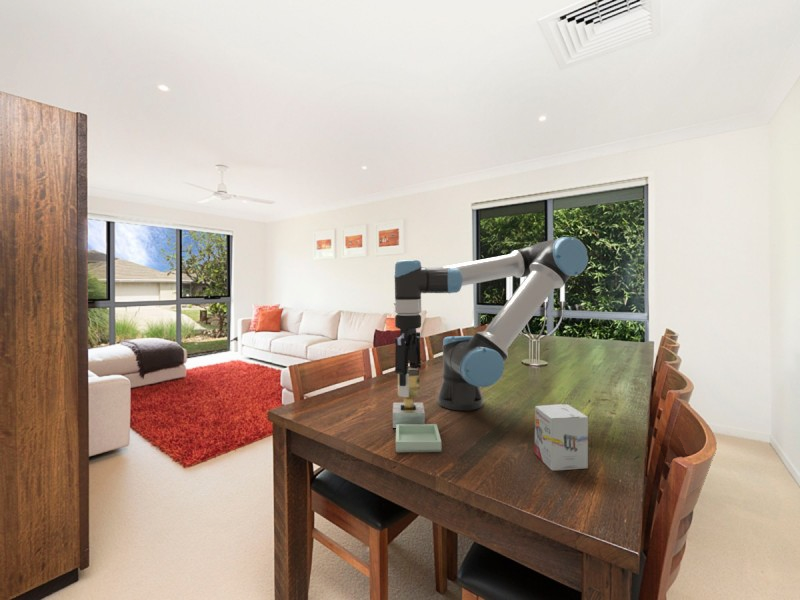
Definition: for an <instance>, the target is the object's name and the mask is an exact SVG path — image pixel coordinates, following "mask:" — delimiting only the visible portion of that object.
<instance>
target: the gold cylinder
mask: <svg viewBox="0 0 800 600" xmlns="http://www.w3.org/2000/svg"><path fill="white" fill-rule="evenodd" d="M407 374H409V397H402V398H403V403H404V410H414V403H415V398H418V397H420V396H421V395H420V394H421V391H420V390H421V389H420V388H421V385H420V383H421V381H420V380H421V379H420V377H421V375H420V370H419V369H418V370H408V371H407ZM397 396H398V397H400V396H399V374H397Z"/></svg>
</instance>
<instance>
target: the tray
mask: <svg viewBox="0 0 800 600" xmlns="http://www.w3.org/2000/svg"><path fill="white" fill-rule="evenodd" d="M395 453H442V439H441V435H440V432H439V428H438V424H437V423H425V424H396V429H395Z"/></svg>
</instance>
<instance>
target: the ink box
mask: <svg viewBox="0 0 800 600" xmlns="http://www.w3.org/2000/svg"><path fill="white" fill-rule="evenodd" d="M588 440H589V416H587V415H586V414H584V413H583V412H581V411H579V410H578V409H576V408H575V407H573V406H571V405H570V404H562V403H558V404H555V403H554V404H545V405H535V406H534V454H535V455H536V456H537V457H538V458H539V459H540V461H542V462H543V463H544V464H545V465H546V466H547V468H549V469H550V470H551V471H552V472H553V471H554V472H555V471H565V470H566V471H567V470H580V469H581V470H583V469H588V466H589V464H588V462H589V459H588V456H589V455H588V453H589V452H588V450H589V441H588Z"/></svg>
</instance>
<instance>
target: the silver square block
mask: <svg viewBox="0 0 800 600" xmlns="http://www.w3.org/2000/svg"><path fill="white" fill-rule="evenodd" d="M396 424H426V412H425V407H424V403H423V402H414V410H404V402H393V403H392V429H393V428H396Z"/></svg>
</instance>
